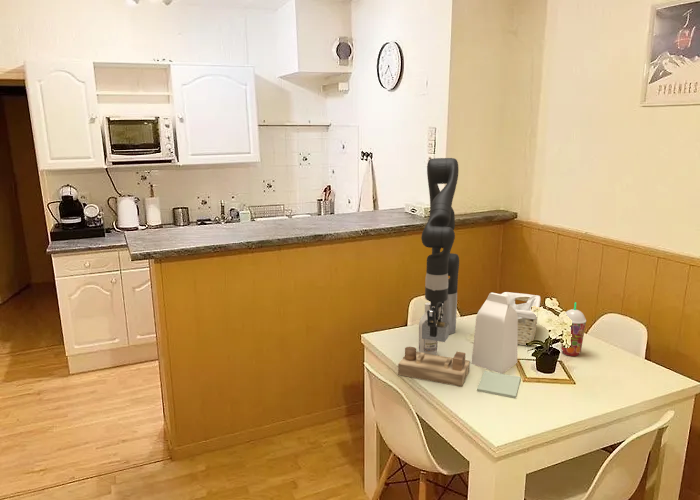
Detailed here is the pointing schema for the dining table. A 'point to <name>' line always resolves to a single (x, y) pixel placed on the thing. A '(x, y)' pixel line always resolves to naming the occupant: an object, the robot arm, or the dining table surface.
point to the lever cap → (441, 331)
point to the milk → (495, 335)
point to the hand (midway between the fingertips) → (435, 333)
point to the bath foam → (426, 344)
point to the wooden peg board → (434, 367)
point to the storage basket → (524, 315)
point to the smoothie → (575, 331)
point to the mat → (499, 384)
